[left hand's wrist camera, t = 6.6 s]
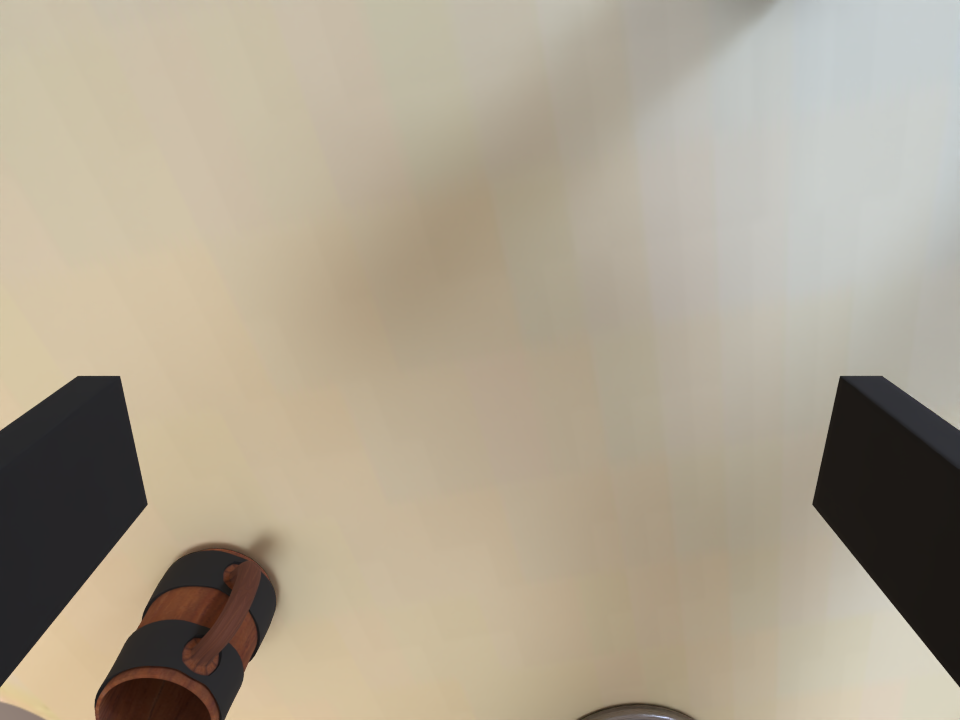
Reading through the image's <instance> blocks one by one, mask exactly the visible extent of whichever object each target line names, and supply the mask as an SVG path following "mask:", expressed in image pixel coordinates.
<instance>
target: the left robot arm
mask: <svg viewBox="0 0 960 720" xmlns="http://www.w3.org/2000/svg"><path fill="white" fill-rule="evenodd" d="M147 505H148V504H147V499H146V495H145V490H144V485H143V481H142V476H141V471H140V467H139V462H138V457H137V453H136V448H135V444H134V439H133V434H132V430H131V425H130V420H129V416H128V411H127V406H126V402H125V397H124V393H123V388H122V383H121V379H120V376H77V377H76V378H74V379H73V380H72V381H70V382H69V383H67V384H66V385H65V386H63V387H62V388H60V389H59V390H57V391H56V392H55V393H53V394H52V395H50V396H49V397H48V398H46V399H45V400H43V401H42V402H40V403H39V404H38V405H36V406H35V407H33V408H32V409H30V410H29V411H28V412H26V413H25V414H23V415H22V416H21V417H19V418H18V419H16V420H15V421H13V422H12V423H11V424H9V425H8V426H6V427H5V428H4V429H2V430H1V431H0V687H1V686H2V684H3V683H4V682H5V681H6V679H7V678H8V677H9V676H10V675H11V673H12V672H13V671H14V670H15V668H16V667H17V666H18V665H19V663H20V662H21V661H22V660H23V658H24V657H25V656H26V655H27V653H28V652H29V651H30V650H31V648H32V647H33V646H34V645H35V644H36V642H37V641H38V640H39V639H40V637H41V636H42V635H43V634H44V632H45V631H46V630H47V629H48V627H49V626H50V625H51V624H52V622H53V621H54V620H55V619H56V618H57V616H58V615H59V614H60V613H61V611H62V610H63V609H64V608H65V606H66V605H67V604H68V603H69V601H70V600H71V599H72V598H73V596H74V595H75V594H76V593H77V591H78V590H79V589H80V588H81V587H82V585H83V584H84V583H85V582H86V580H87V579H88V578H89V577H90V575H91V574H92V573H93V572H94V570H95V569H96V568H97V567H98V565H99V564H100V563H101V562H102V560H103V559H104V558H105V557H106V556H107V554H108V553H109V552H110V551H111V549H112V548H113V547H114V546H115V544H116V543H117V542H118V541H119V539H120V538H121V537H122V536H123V534H124V533H125V532H126V531H127V530H128V528H129V527H130V526H131V525H132V523H133V522H134V521H135V520H136V518H137V517H138V516H139V515H140V513H141V512H142V511H143V510H144V508H145V507H146V506H147ZM812 505H813V506H814V507H815V508H816V510H817V511H818V512H819V513H820V515H821V516H822V517H823V518H824V520H825V521H826V522H827V523H828V525H829V526H830V527H831V528H832V530H833V531H834V532H835V533H836V534H837V536H838V537H839V538H840V539H841V541H842V542H843V543H844V544H845V546H846V547H847V548H848V549H849V551H850V552H851V553H852V554H853V556H854V557H855V558H856V559H857V560H858V562H859V563H860V564H861V565H862V567H863V568H864V569H865V570H866V572H867V573H868V574H869V575H870V577H871V578H872V579H873V580H874V582H875V583H876V584H877V585H878V587H879V588H880V589H881V590H882V591H883V593H884V594H885V595H886V596H887V598H888V599H889V600H890V601H891V603H892V604H893V605H894V606H895V608H896V609H897V610H898V611H899V613H900V614H901V615H902V616H903V618H904V619H905V620H906V621H907V622H908V624H909V625H910V626H911V627H912V629H913V630H914V631H915V632H916V634H917V635H918V636H919V637H920V639H921V640H922V641H923V642H924V644H925V645H926V646H927V647H928V648H929V650H930V651H931V652H932V653H933V655H934V656H935V657H936V658H937V660H938V661H939V662H940V663H941V665H942V666H943V667H944V668H945V670H946V671H947V672H948V673H949V675H950V676H951V677H952V678H953V679H954V681H955V682H956V683H957V684H958V686H959V687H960V431H959V430H958V429H956V428H955V427H954V426H952V425H951V424H949V423H948V422H947V421H945V420H944V419H942V418H941V417H939V416H938V415H937V414H935V413H934V412H932V411H931V410H930V409H928V408H927V407H925V406H924V405H922V404H921V403H920V402H918V401H917V400H915V399H914V398H912V397H911V396H910V395H908V394H907V393H905V392H904V391H903V390H901V389H900V388H898V387H897V386H895V385H894V384H893V383H891V382H890V381H888V380H887V379H886V378H884V377H883V376H840V379H839V383H838V388H837V393H836V397H835V402H834V406H833V411H832V416H831V420H830V425H829V430H828V434H827V439H826V444H825V448H824V453H823V457H822V462H821V467H820V471H819V476H818V481H817V485H816V490H815V495H814V499H813V504H812ZM581 720H693V719H692V718H690V717H688V716H686V715H684V714H682V713H680V712H677V711H674V710H671V709H667V708H663V707H658V706H650V705H628V706H620V707H614V708H610V709H606V710H602V711H599V712H596V713H594V714H591V715H589V716H587V717H585V718H583V719H581Z"/></svg>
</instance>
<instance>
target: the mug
mask: <svg viewBox="0 0 960 720" xmlns="http://www.w3.org/2000/svg"><path fill="white" fill-rule="evenodd" d="M275 608H276V596H275V591H274V588H273V586H272V584H271V582H270V580H269V578H268V576H267V574H266V573H265V571H264V570H263V569H262V568H261V567H260V566H259V565H258V564H257V563H256V562H255V561H253V560H252V559H250V558H249V557H247V556H245V555H243V554H240V553H238V552H235V551H231V550H226V549H206V550H202V551H198V552H194V553H191V554H188V555H186V556H184V557H182V558H180V559H178V560H177V561H176V562H175V563H173V564H172V565H171V567H170V568H169V569H168V570H167V572H166V573H165V575H164V576H163V578H162V579H161V581H160V582H159V584H158V586H157V587H156V589H155V591H154V593H153V595H152V596H151V598H150V600H149V602H148V604H147V606H146V608H145V610H144V613H143V616H142V621H141V623H140V625H139V626H138V628H137V630H136V631H135V632H134V633H133V634H132V635H131V636H130V637H129V638H128V640H127V641H126V642H125V644H124V646H123V648H122V650H121V652H120V654H119V656H118V658H117V660H116V661H115V663H114V665H113V667H112V669H111V670H110V672H109V674H108V675H107V677H106V679H105V680H104V682H103V684H102V685H101V687H100V688H99V690H98V693H97V695H96V699H95V716H96V720H225V718H226V715H227V713H228V711H229V709H230V707H231V705H232V703H233V701H234V699H235V697H236V695H237V693H238V691H239V689H240V687H241V685H242V682H243V677H244V671H245V669H246V667H247V665H248V663H249V662H250V661H251V660H252V658H253V657H254V656H255V654H256V652H257V650H258V649H259V647H260V645H261V643H262V641H263V639H264V637H265V635H266V633H267V630H268V628H269V626H270V623H271V621H272V618H273V615H274V612H275Z"/></svg>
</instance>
